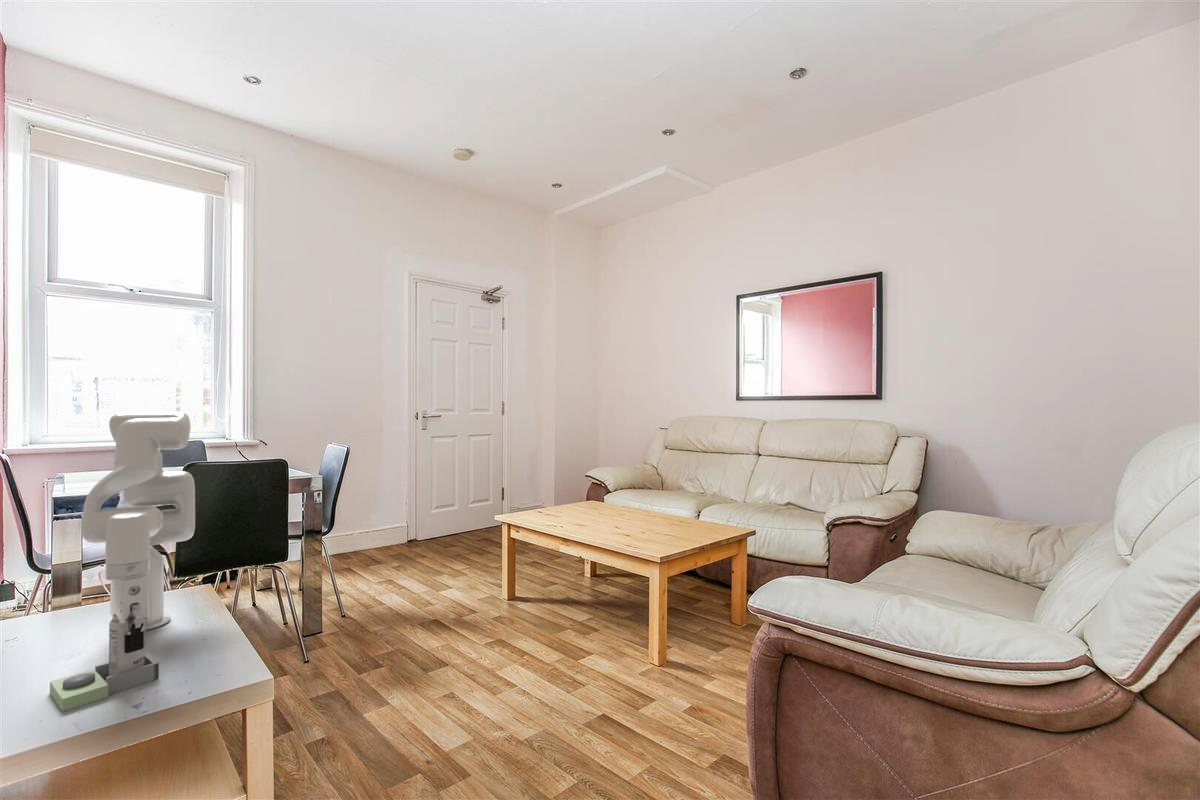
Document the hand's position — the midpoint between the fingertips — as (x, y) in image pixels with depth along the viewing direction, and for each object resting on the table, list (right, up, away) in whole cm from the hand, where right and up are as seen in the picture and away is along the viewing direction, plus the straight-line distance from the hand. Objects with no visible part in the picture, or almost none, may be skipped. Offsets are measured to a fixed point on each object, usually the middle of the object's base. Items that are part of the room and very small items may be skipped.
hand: (127, 644), depth 122 cm
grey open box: (-2, -8, -3) cm, 8 cm away
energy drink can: (0, -8, 0) cm, 8 cm away
